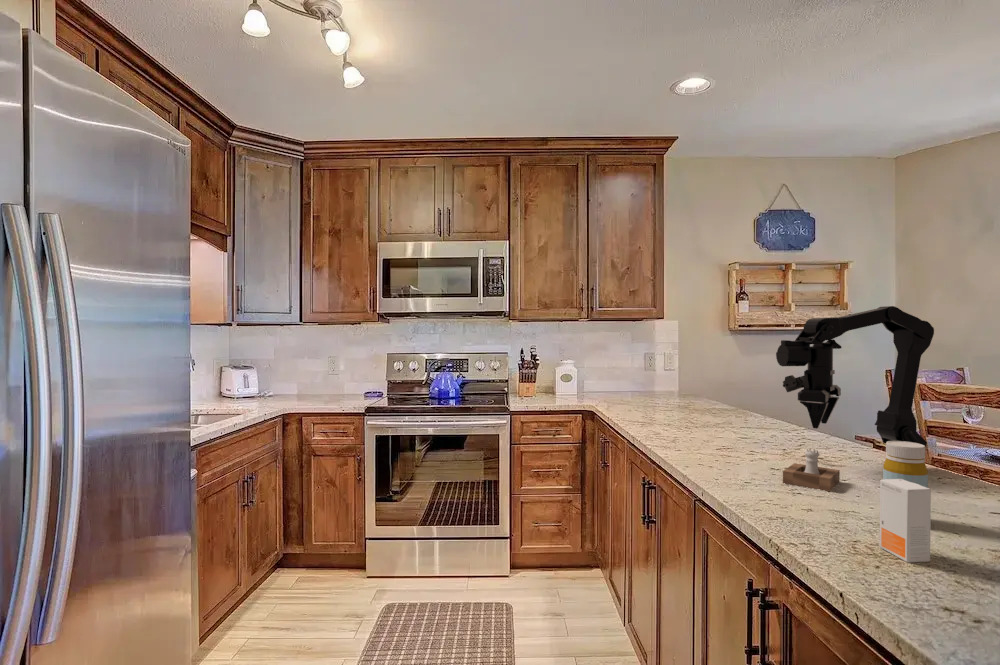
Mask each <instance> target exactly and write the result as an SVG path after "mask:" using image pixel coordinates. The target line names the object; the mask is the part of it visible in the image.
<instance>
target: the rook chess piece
mask: <svg viewBox="0 0 1000 665" xmlns="http://www.w3.org/2000/svg"><path fill="white" fill-rule="evenodd" d="M804 455H805V462H806V463H805V465H806V468H805V471H804V472H806V473H812V474H818V475H820V473H819V471H818V467H819V465H818V462H819V459H818V458H819V456H820V453H819V450H817V449H815V448H814V449H813V448H812V449H811V448H806V449H805V452H804Z"/></svg>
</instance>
